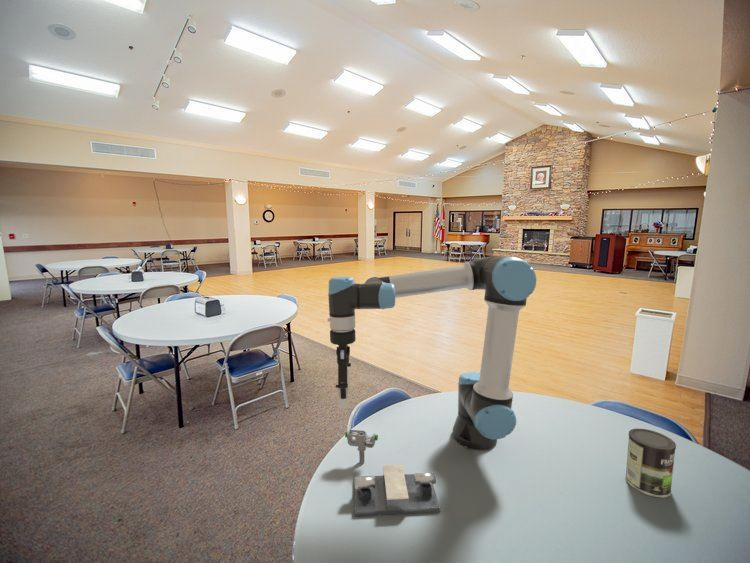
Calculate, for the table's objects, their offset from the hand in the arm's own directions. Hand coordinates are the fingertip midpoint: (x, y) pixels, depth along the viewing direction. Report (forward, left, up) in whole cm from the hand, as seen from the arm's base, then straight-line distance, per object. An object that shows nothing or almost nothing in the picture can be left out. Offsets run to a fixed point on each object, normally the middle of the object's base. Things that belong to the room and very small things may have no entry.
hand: (344, 397), depth 104 cm
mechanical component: (-5, -1, -23) cm, 23 cm away
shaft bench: (-14, +13, -23) cm, 30 cm away
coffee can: (-86, +14, -23) cm, 90 cm away
